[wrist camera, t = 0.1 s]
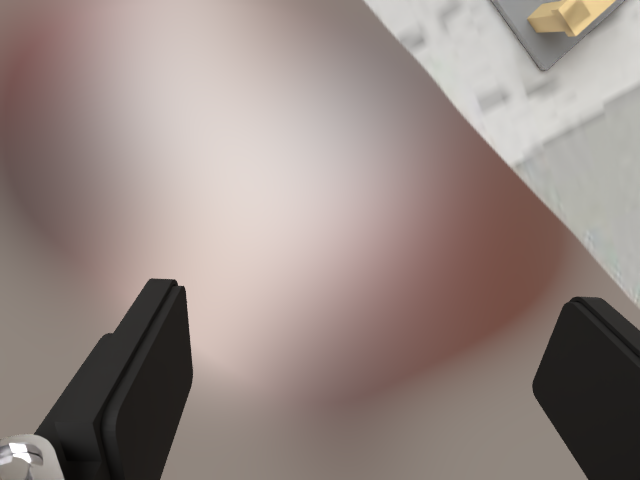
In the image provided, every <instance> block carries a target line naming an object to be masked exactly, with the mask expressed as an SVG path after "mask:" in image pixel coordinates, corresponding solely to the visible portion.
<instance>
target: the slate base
mask: <svg viewBox="0 0 640 480" xmlns="http://www.w3.org/2000/svg"><path fill="white" fill-rule="evenodd" d="M491 1H492V2H493V4H494V5H495V6H496V8H497V9H498V11H499V12H500V13H501V15H502V16H503V18H504V19H505V20H506V22H507V23H508V25H509V26H510V27H511V29H512V30H513V32H514V33H515V35H516V36H517V37H518V39H519V40H520V42H521V43H522V44H523V46H524V47H525V49H526V50H527V51H528V53H529V54H530V56H531V57H532V58H533V60H534V61H535V63H536V64H537V65H538V67H539V68H540V70H546V71H547V70H548V69H549V68H550V67H551V66H552V65H553V64H554V63H556V62H557V61H558V60H559V59H560V58H561V57H562V56H563V55H564V54H566V53H567V52H568V51H569V50H570V49H571V48H572V47H573V46H574V45H576V44H577V43H578V42H579V41H580V40H581V39H582V38H583V37H585V36H586V35H587V34H588V33H589V32H590V31H591V30H592V29H593V28H595V27H596V26H597V25H598V24H599V23H600V22H601V21H602V20H603V19H605V18H606V17H607V16H608V15H609V14H610V13H611V12H612V11H613V10H615V9H616V8H617V7H618V6H619V5H620V4H621V3H622V2H624V1H625V0H491Z"/></svg>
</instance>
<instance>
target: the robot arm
mask: <svg viewBox="0 0 640 480" xmlns="http://www.w3.org/2000/svg"><path fill="white" fill-rule="evenodd" d="M192 368H193V367H192V356H191V345H190V335H189V324H188V312H187V301H186V291H185V287H184V286H178V284H177V281H176V280H172V279H150V280H149V281H148V282H147V283H146V285H145V286H144V288H143V289H142V291H141V292H140V294H139V295H138V297H137V298H136V300H135V301H134V303H133V305H132V306H131V307H130V309H129V311H128V312H127V313H126V315H125V316H124V318H123V319H122V321H121V322H120V324H119V326H118V327H117V328H116V330H115V331H114V333H108V334H105V335H104V336H103V337H102V338H101V339H100V340H99V341H98V343H97V344H96V346H95V347H94V349H93V350H92V352H91V353H90V354H89V356H88V357H87V359H86V360H85V362H84V363H83V364H82V366H81V367H80V369H79V370H78V372H77V373H76V374H75V376H74V377H73V379H72V380H71V382H70V383H69V384H68V386H67V387H66V389H65V390H64V392H63V393H62V395H61V396H60V397H59V399H58V400H57V402H56V403H55V405H54V406H53V407H52V409H51V410H50V412H49V413H48V415H47V416H46V417H45V419H44V421H43V422H42V423H41V425H40V426H39V428H38V429H37V430H36V432H35V433H34V435H29V434H22V435H16V436H10V437H6V438H3V439H0V480H160V478H161V475H162V472H163V469H164V466H165V463H166V460H167V457H168V454H169V451H170V448H171V445H172V442H173V439H174V436H175V433H176V430H177V427H178V424H179V421H180V418H181V415H182V412H183V409H184V406H185V403H186V400H187V397H188V394H189V391H190V389H191V384H192V378H193V369H192ZM532 387H533V393H534V396H535V397H536V399H537V401H538V402H539V404H540V405H541V407H542V408H543V410H544V411H545V413H546V415H547V416H548V418H549V419H550V421H551V422H552V424H553V425H554V427H555V429H556V430H557V432H558V433H559V435H560V436H561V438H562V439H563V441H564V442H565V444H566V446H567V447H568V449H569V450H570V451H571V453H572V455H573V456H574V458H575V460H576V461H577V462H578V464H579V466H580V467H581V469H582V470H583V472H584V473H585V475H586V477H587V478H588V480H640V331H639V330H638V329H637V328H636V327H635V326H634V325H632V324H631V323H630V322H629V321H628V320H627V319H626V318H624V317H623V316H622V315H621V314H620V313H619V312H617V311H616V310H615V309H614V308H613V307H612V306H610V305H609V304H608V303H607V302H606V301H604V300H603V299H601V298H596V297H574V298H572V299H571V300H570V301H569V302H568V303H566V304H564V306H563V308H562V310H561V313H560V315H559V318H558V320H557V323H556V325H555V328H554V330H553V333H552V335H551V338H550V340H549V343H548V345H547V348H546V350H545V353H544V355H543V358H542V360H541V363H540V365H539V368H538V370H537V373H536V375H535V378H534V380H533V385H532Z"/></svg>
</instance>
